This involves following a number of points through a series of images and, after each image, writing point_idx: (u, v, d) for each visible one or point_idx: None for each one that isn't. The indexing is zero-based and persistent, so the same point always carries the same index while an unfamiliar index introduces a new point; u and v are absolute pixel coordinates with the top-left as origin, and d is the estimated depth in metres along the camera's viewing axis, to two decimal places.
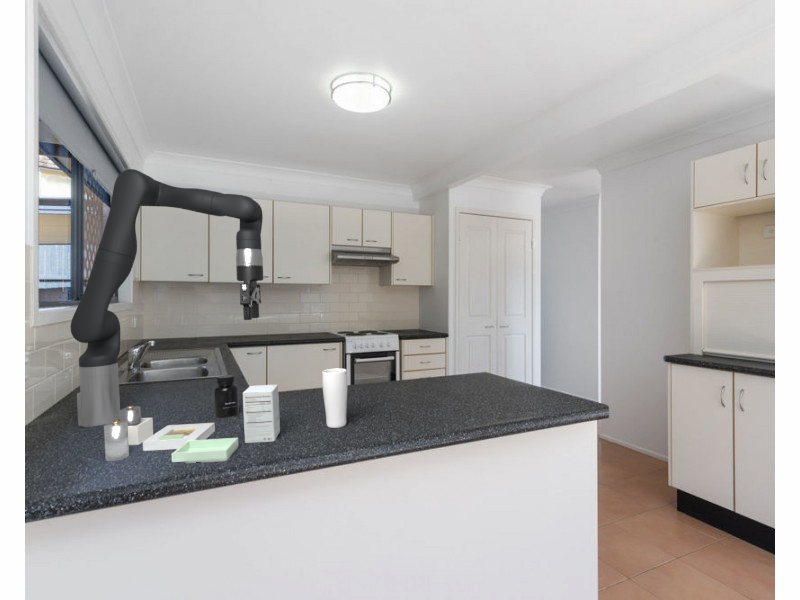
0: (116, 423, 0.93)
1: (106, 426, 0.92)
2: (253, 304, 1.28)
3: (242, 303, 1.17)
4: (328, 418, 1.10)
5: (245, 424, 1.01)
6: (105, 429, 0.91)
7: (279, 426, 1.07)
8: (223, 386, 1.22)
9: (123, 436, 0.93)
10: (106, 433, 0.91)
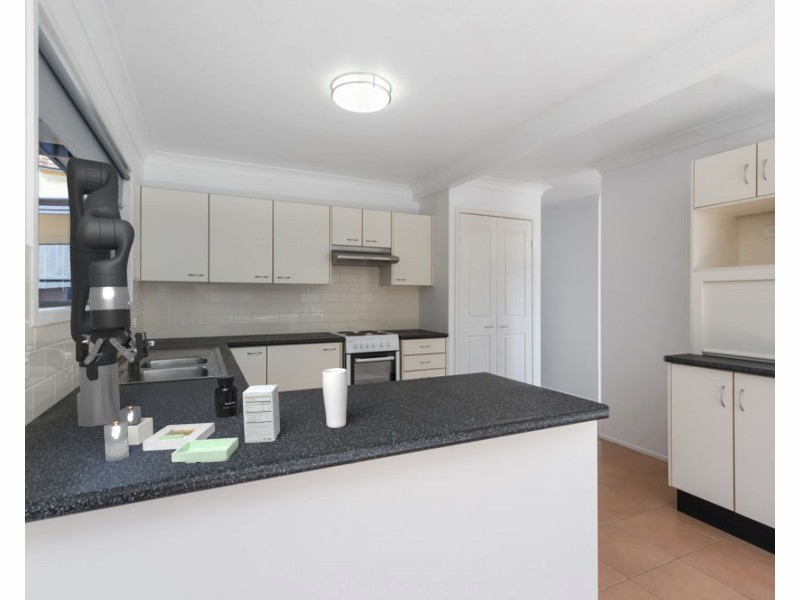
0: (116, 423, 0.93)
1: (106, 426, 0.92)
2: (92, 361, 0.92)
3: (143, 356, 0.93)
4: (328, 418, 1.10)
5: (245, 424, 1.01)
6: (105, 429, 0.91)
7: (279, 426, 1.07)
8: (223, 386, 1.22)
9: (123, 436, 0.93)
10: (106, 433, 0.91)
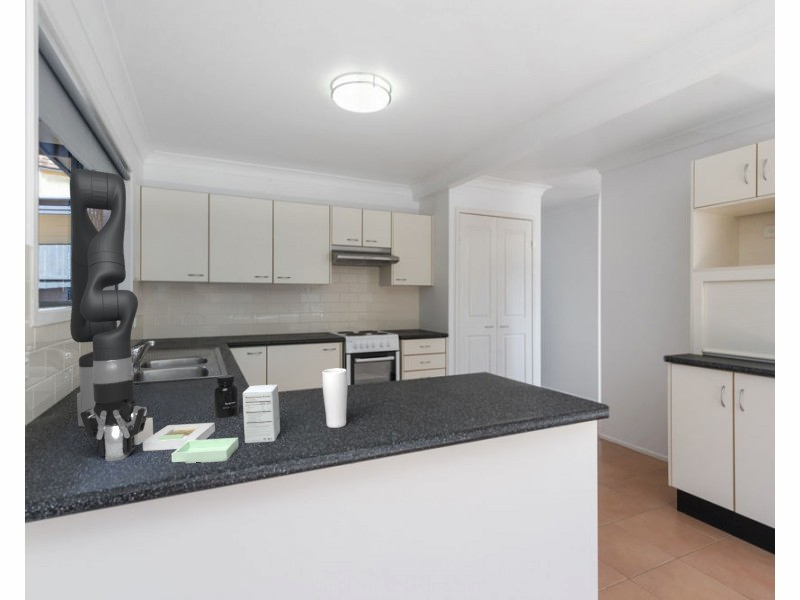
0: None
1: (106, 426, 0.92)
2: None
3: (139, 431, 0.93)
4: (328, 418, 1.10)
5: (245, 424, 1.01)
6: (105, 429, 0.91)
7: (279, 426, 1.07)
8: (223, 386, 1.22)
9: (123, 436, 0.93)
10: (106, 433, 0.91)
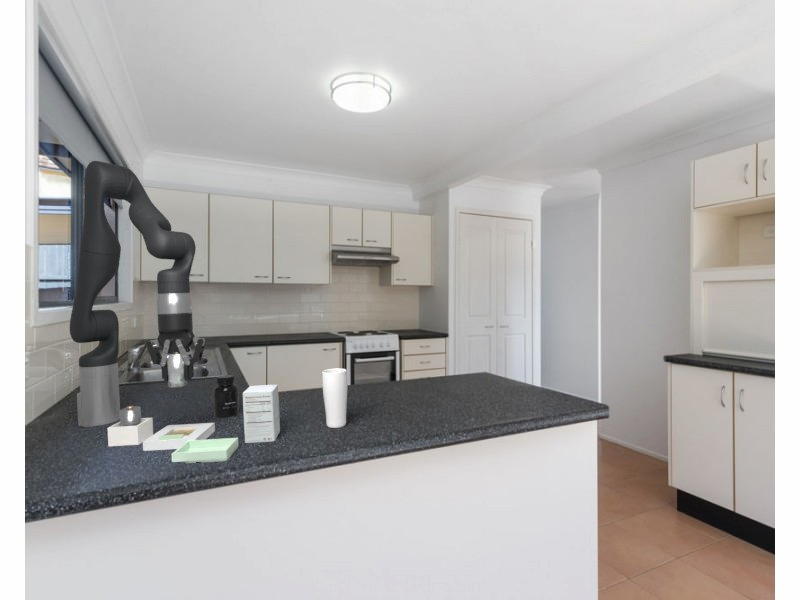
0: None
1: (169, 354, 1.01)
2: None
3: (198, 360, 1.02)
4: (328, 418, 1.10)
5: (245, 424, 1.01)
6: (168, 356, 1.01)
7: (279, 426, 1.07)
8: (223, 386, 1.22)
9: (184, 363, 1.02)
10: (169, 360, 1.00)
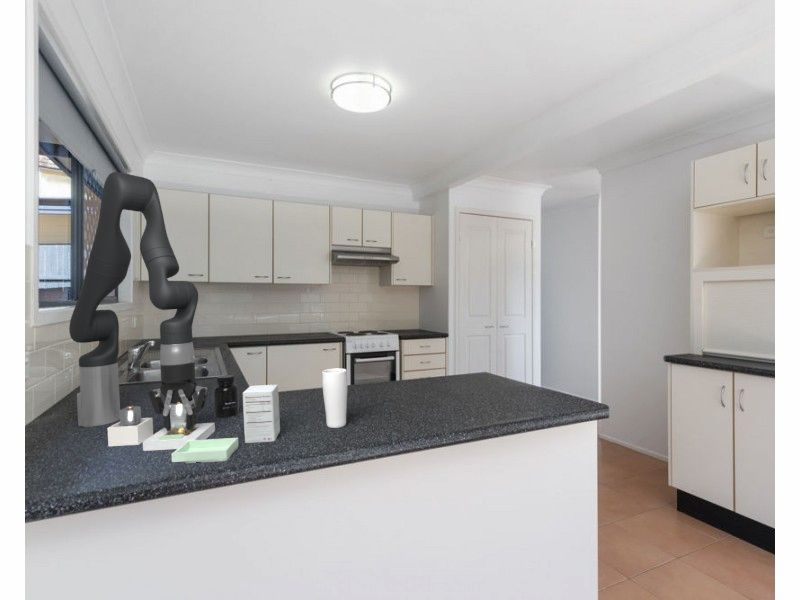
0: None
1: (171, 404, 1.01)
2: (169, 412, 1.02)
3: (200, 409, 1.03)
4: (328, 418, 1.10)
5: (245, 424, 1.01)
6: (171, 407, 1.01)
7: (279, 426, 1.07)
8: (223, 386, 1.22)
9: (186, 413, 1.02)
10: (172, 410, 1.01)
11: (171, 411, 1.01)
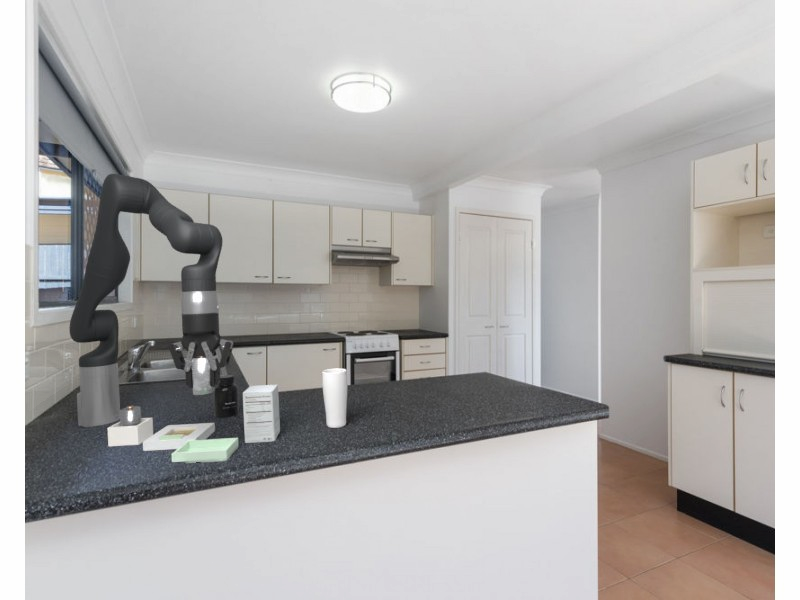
0: None
1: (194, 358, 0.92)
2: (191, 368, 0.93)
3: (225, 364, 0.93)
4: (328, 418, 1.10)
5: (245, 424, 1.01)
6: (193, 361, 0.91)
7: (279, 426, 1.07)
8: (223, 386, 1.22)
9: (210, 368, 0.93)
10: (194, 365, 0.91)
11: (193, 366, 0.91)
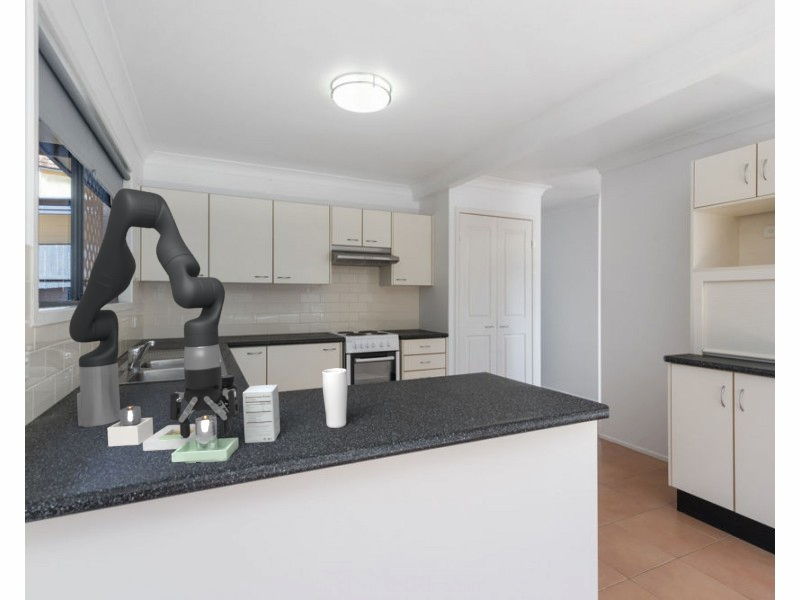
0: (206, 417, 0.93)
1: (197, 420, 0.92)
2: (185, 419, 0.93)
3: (235, 414, 0.94)
4: (328, 418, 1.10)
5: (245, 424, 1.01)
6: (197, 423, 0.92)
7: (279, 426, 1.07)
8: (223, 386, 1.22)
9: (213, 430, 0.93)
10: (198, 427, 0.92)
11: (197, 428, 0.92)
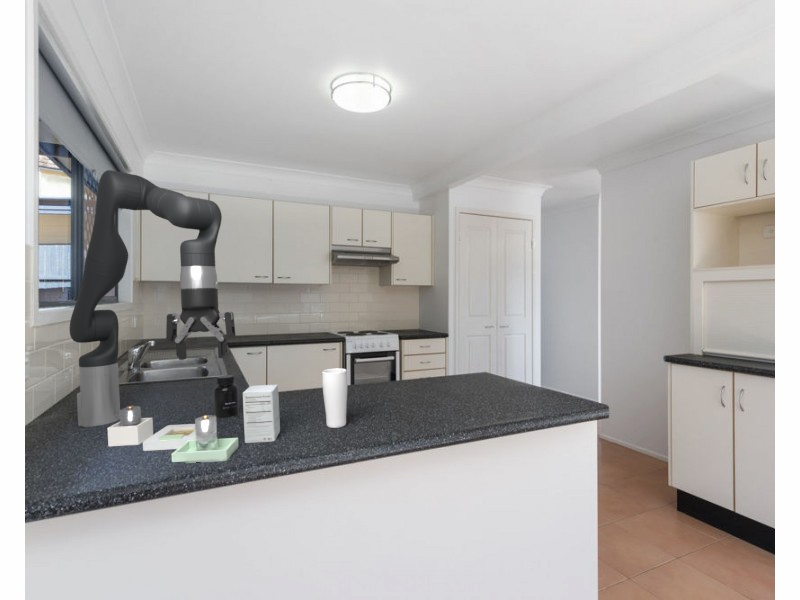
0: (206, 417, 0.93)
1: (197, 420, 0.92)
2: (182, 340, 0.93)
3: (232, 336, 0.93)
4: (328, 418, 1.10)
5: (245, 424, 1.01)
6: (197, 423, 0.92)
7: (279, 426, 1.07)
8: (223, 386, 1.22)
9: (213, 430, 0.93)
10: (198, 427, 0.92)
11: (197, 428, 0.92)
